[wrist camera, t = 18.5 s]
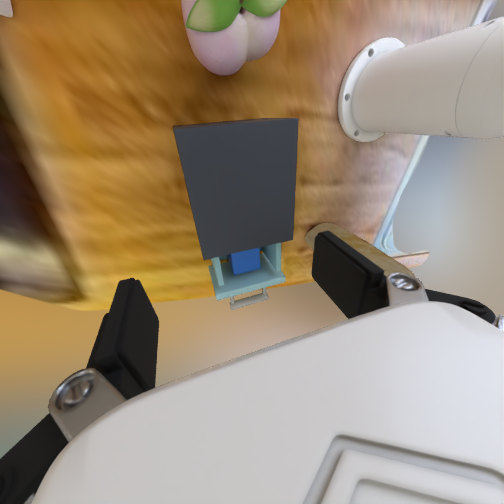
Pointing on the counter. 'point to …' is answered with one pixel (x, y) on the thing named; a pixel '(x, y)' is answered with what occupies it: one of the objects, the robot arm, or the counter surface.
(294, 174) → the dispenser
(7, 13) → the medicine bottle
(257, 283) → the teal drawer
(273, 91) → the counter surface
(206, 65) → the decorative fruit
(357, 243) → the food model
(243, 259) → the blue cube
